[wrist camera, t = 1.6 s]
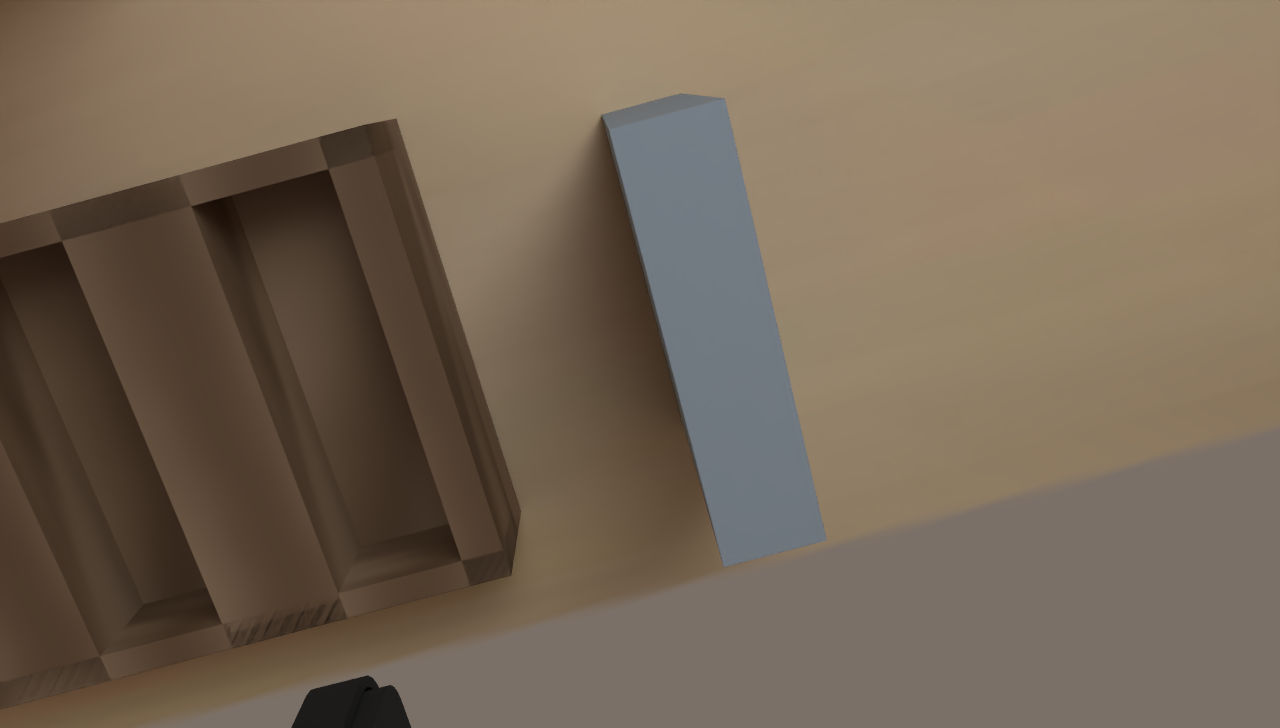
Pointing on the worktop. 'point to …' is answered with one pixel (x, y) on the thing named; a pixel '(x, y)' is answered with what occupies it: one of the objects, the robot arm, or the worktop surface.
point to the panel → (716, 322)
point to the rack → (234, 415)
